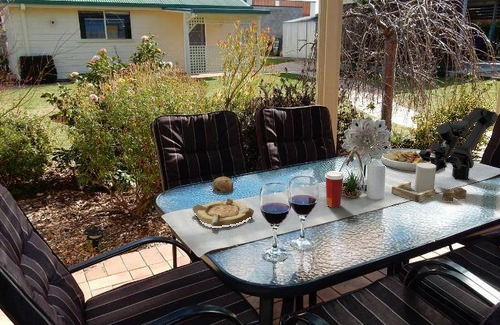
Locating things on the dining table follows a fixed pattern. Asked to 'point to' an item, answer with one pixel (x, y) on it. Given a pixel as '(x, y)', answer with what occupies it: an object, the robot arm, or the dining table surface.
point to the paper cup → (334, 188)
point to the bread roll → (222, 184)
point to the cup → (424, 177)
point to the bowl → (403, 159)
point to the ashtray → (222, 212)
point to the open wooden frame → (402, 191)
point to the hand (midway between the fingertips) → (430, 173)
